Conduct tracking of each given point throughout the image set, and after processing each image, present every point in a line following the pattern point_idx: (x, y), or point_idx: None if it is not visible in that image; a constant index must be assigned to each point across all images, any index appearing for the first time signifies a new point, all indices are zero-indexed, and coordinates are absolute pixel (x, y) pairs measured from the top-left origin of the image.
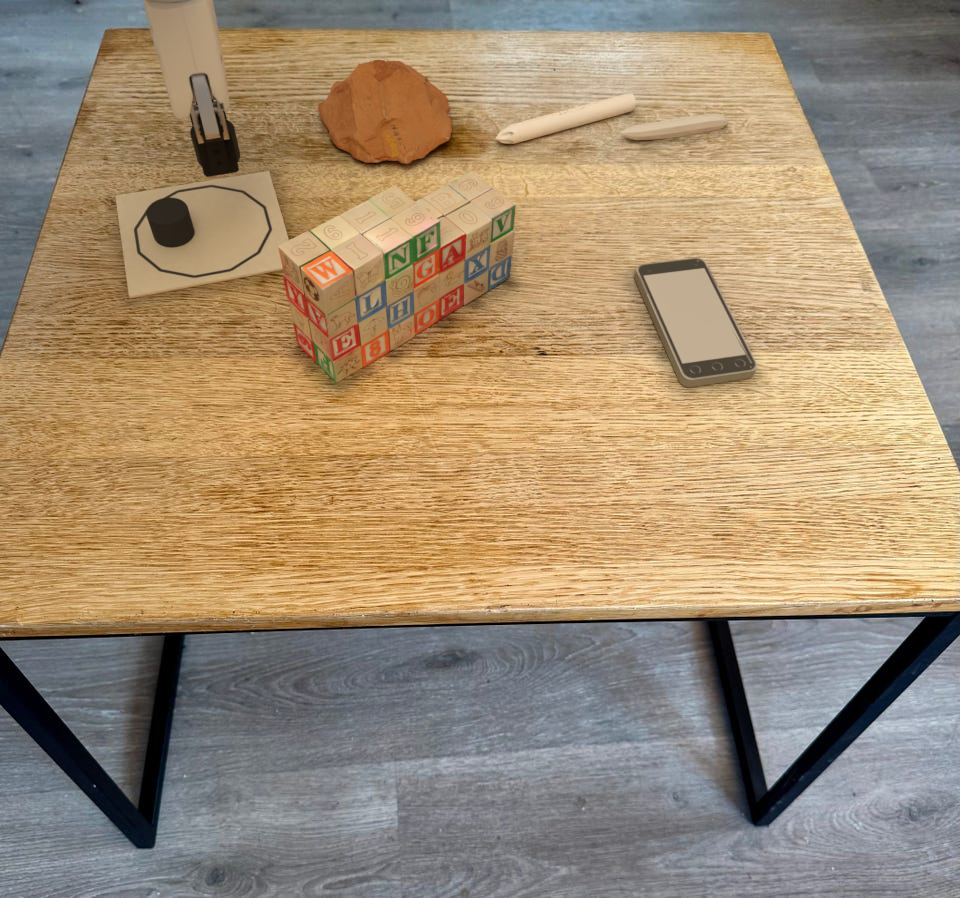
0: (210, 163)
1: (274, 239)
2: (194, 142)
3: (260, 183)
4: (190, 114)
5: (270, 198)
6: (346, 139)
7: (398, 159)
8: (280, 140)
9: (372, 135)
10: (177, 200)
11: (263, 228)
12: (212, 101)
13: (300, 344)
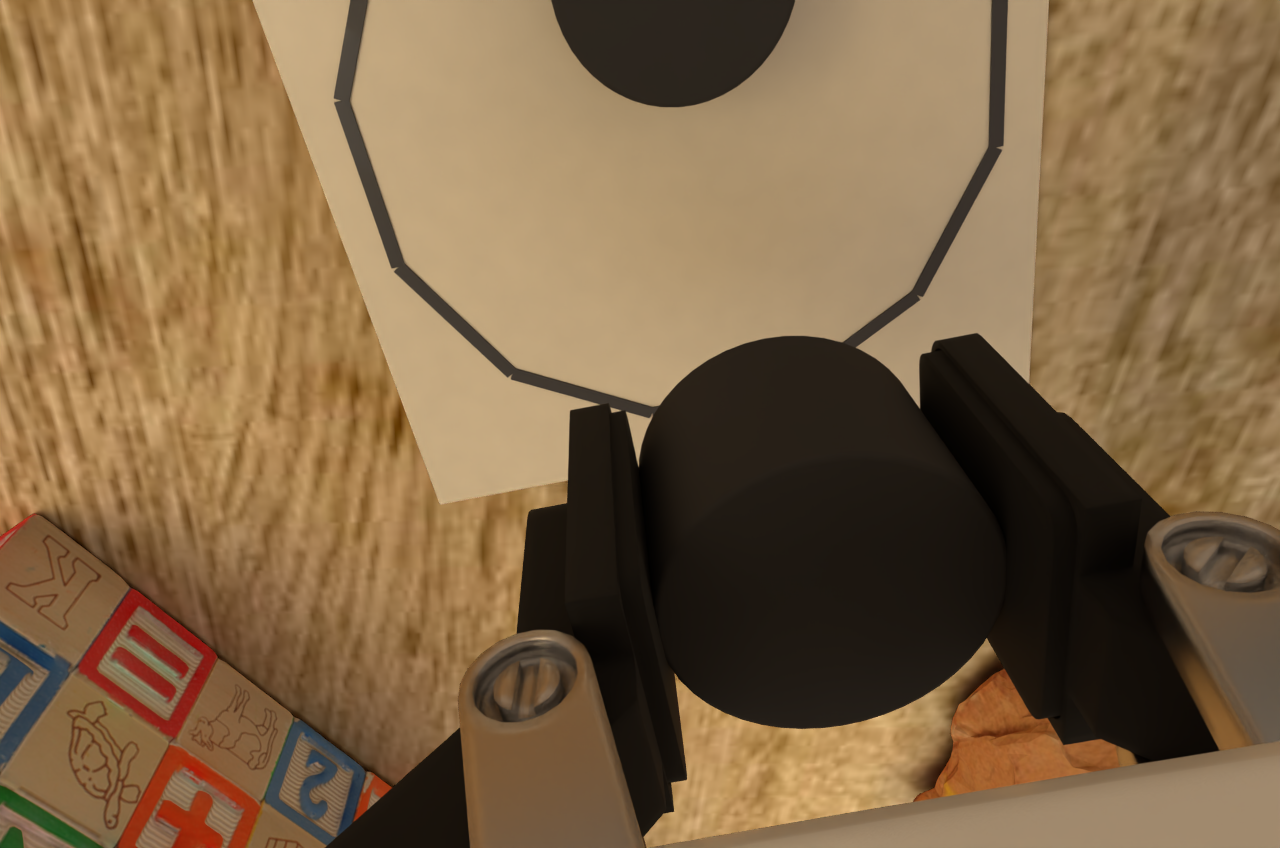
0: (528, 543)
1: None
2: (734, 466)
3: None
4: (1055, 476)
5: None
6: None
7: (932, 795)
8: (1221, 420)
9: None
10: (760, 38)
11: (663, 384)
12: (1086, 715)
13: (13, 531)
